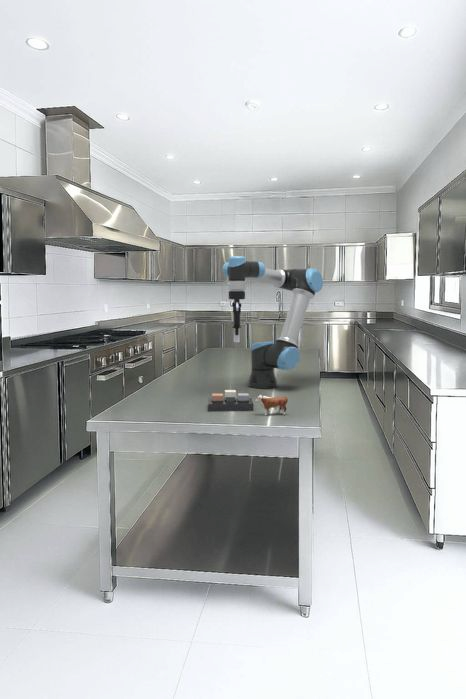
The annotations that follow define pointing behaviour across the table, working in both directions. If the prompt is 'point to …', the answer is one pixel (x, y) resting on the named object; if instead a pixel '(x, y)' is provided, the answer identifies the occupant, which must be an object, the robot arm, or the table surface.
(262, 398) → the bull figurine
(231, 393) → the cream key
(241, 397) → the grey key
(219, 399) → the tan cube
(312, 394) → the table surface
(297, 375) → the table surface
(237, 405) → the keypad base
